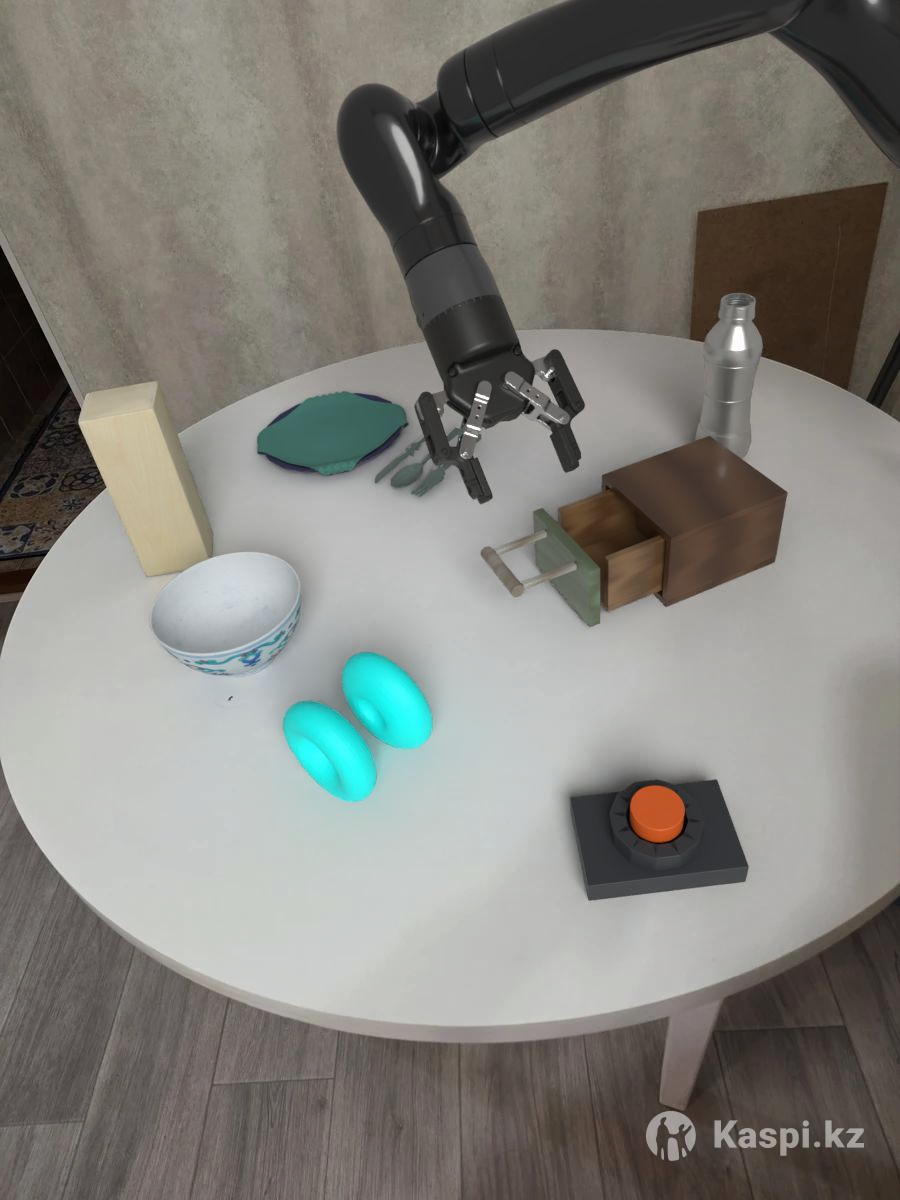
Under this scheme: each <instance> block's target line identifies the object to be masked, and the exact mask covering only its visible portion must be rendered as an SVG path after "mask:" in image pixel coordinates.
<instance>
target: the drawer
mask: <svg viewBox="0 0 900 1200" xmlns="http://www.w3.org/2000/svg"><path fill="white" fill-rule="evenodd" d="M532 516H533V517H532V519H533V520H532V521H533V533H531V534H528V535H526V536H522V537H520V538H518V539H515V540H512V541H510V542H507V543H504V544H500V545H499V546H496V547H492V546H490V545H488V546H487V545H486V546H483V548H482V549H481V550H480V554H479V555H480V557H481V559H483V561H484V562H485V564H486V565H487V566H488V567H489V568H490V570H491V571H492V572H493V574H495V576H496V577H497V579H498V580H499V581H500V582H501V584H502V585H503V587H505V589H506V590H507V591H508V592H509V594H510V595H511V596H512V597H513V598H519V597H521V596H522V595H523V594H524V593H525V590H527V589H530V588H532V587H536V586H537V585H540V584H543V583H545V582H550V583H551V584H552V585H553V586H554V587H555V589H557V591H558V592H559V593H560V595H562V596H563V598H564V599H565V600H566V601H567V602H568V603H569V605H570V606H571V607H572V608H573V609H574V610H575V612H576V613H577V614H578V615H579V616H580V618H582V620H583V621H584V622H585V623H586V624H587V626H588V627H589V628H592V627H594V626H597V625H599V624H601V607H602V608H603V609H604V610H605V611H606V612H607V613H610V612H612V611H614V610H617V609H619V608H621V607H624V606H627V605H630V604H631V603H634V602H637V601H639V600H642V599H644V598H646V597H649V596H651V595H654V593H656V592H659V591H661V590H663V580H664V565H665V550H666V539H665V538H664V537H663V536H661V535H660V534H659V533H658V532H657V531H656V530H655V529H654V528H653V527H652V526H651V525H649V524H648V523H647V522H646V521H645V520H644V519H643V518H642V517H641V516H640V515H639V514H637V513H636V512H635V511H634V510H633V509H632V508H631V507H630V506H629V505H628V504H626V503H625V502H624V501H623V500H622V499H621V498H620V497H619V496H618V495H617V494H616V493H614V492H613V491H612V490H611V489H608V490H606V491H603V492H602V491H599V492H597V493H594V494H592V495H589V496H587V497H584V498H581V499H579V500H576V501H573V502H571V503H568V504H565V505H563V506H560V507H557V521H556V519H554V518H553V517H552V515H551V514H550V513H549V512H548V511H547V510H546V509H545V508H544V507H540V508H538V509H535V510H533V511H532ZM531 543H534V550H535V563H536V564H535V565H536V566H537V567H538V569H539V570H540V571H541V572H542V573H541V574H539V575H536V576H534V577H530V578H528V579H526V580H523V581H520V580H519V579H518V578H517V577H516V575H515V574H514V572H512V570H511V569H510V568H509V566H508V565H507V564H506V563H505V562H504V560H503V559H502V557H500V555H502V554H505V553H508V552H511V551H513V550H516V549H519V548H521V547H523V546H527V545H529V544H531Z"/></svg>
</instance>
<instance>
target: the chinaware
mask: <svg viewBox="0 0 900 1200" xmlns="http://www.w3.org/2000/svg"><path fill="white" fill-rule="evenodd" d="M301 585H302V584H301V581H300V577H299V575H298V572H297V571H296V570H295V568H294V567H293V566H292V565H291V564H290V562H289V563H288V562H287V561H286V560H284V559H283V558H281V557H279V556H276V555H273V554H271V553H267V552H261V551H236V552H229V553H223V554H220V555H216V556H212V558H210V559H207V560H204V561H202V562H199V563H197V564H195V565H193V566H191V567H190V568H188V569H186V570H183V571H180V572H179V573H178V574H177V575H176V576H174V577H173V578H172V579H170V581H168V582H167V584H165V586H164V587H163V588H162V589H161V590H160V591H159V592H158V594H157V596H156V597H155V599H154V601H153V603H152V606H151V608H150V611H149V627H150V630H151V633H152V635H153V636H154V638H155V639H156V641H157V642H158V643H159V645H161V647H162V648H163V649H164V650H165V651H166V652H167V653H168V654H169V655H170V656H171V657H173V658H174V659H175V660H176V661H178V663H179V662H180V663H181V664H183V665H184V666H185V667H188V668H189V669H192V670H195V671H197V672H200V673H204V674H207V675H214V676H227V677H233V678H242V677H248V676H251V675H254V674H257V673H260V671H262V670H264V669H266V668H267V667H268V666H269V665H270V664H271V663H273V661H274V659H275V658H276V657H277V655H279V654H280V653H281V652H282V651H283V649H284V648H285V647H286V646H287V645H288V643H289V641H290V640H291V639H292V636H293V635H294V632H295V631H296V627H297V625H298V623H299V619H300V616H301V615H300V614H301V608H302V587H301Z"/></svg>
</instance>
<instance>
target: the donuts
mask: <svg viewBox="0 0 900 1200" xmlns="http://www.w3.org/2000/svg"><path fill="white" fill-rule="evenodd" d="M341 687H342V692H343V694H344V698H345V700H346V702H347V704H348V706H349V708H350V710H351V711H352V712H353V714H354V716H355V717H356V718H357V719H358V721H359V722H360V723H361V724H362V726H363V727H365V729H367V730H368V731H369V732H370V734H372V735H373V736H374V737H376V738H377V739H378V740H380V741H381V742H383V743H385V744H386V745H389V746H391V747H393V748H396V749H402V750H414V749H416V748H419V747H421V746H423V745H424V744H425V743H426V742H427V741H428V740H429V739H430V736H431V735H432V731H433V728H434V727H433V726H434V719H433V712H432V710H431V707H430V705H429V702H428V700H427V698H426V696H425V695H424V693H423V691H422V690H421V688H420V686H418V684H417V683H416V682H415V680H414V679H413V678H412V677H411V675H410V674H409V673H408V672H406V671H405V670H404V669H403V668H402V667H401V666H400V665H398V664H397V663H396V662H394V661H393V660H392V659H390V658H388V657H386V656H385V655H382V654H380V653H377V652H373V651H362V652H358V653H356V654H354V655H352V656H351V657H350V658H348V659H347V661H346V662H345V664H344V666H343V668H342V673H341ZM282 730H283V734H284V739H285V741H286V743H287V745H288V747H289V749H290V750H291V752H292V753H293V755H294V757H295V759H296V760H297V761H298V763H299V764H300V765H301V767H302V768H303V769H304V770H305V771H306V773H307V774H308V775H309V777H311V778H312V779H313V780H314V781H315V782H316V783H317V784H318V785H319V786H320V787H321V788H323V789H324V790H325V791H326V792H327V793H329V794H330V795H332V796H333V797H335V798H338V799H339V800H341V801H345V802H349V803H351V802H352V803H357V802H360V801H364V800H365V799H367V798H368V797H369V796H370V795H371V794H372V792H373V791H374V790H375V787H376V784H377V778H378V777H377V766H376V762H375V759H374V756H373V753H372V751H371V749H370V747H369V746H368V743H367V742H366V740H365V739H364V737H363V736H362V735H361V734H360V733H359V731H358V730H357V729H356V728H355V726H354V725H353V724H352V723H351V722H350V721H349V720H348V719H347V718H346V717H345V716H343V714H341V713H340V712H338V711H337V710H335V709H333V707H330V706H328V705H326V704H324V703H322V702H319V701H314V700H302V701H297V702H296V703H294V704H292V705H291V706H290V707H288V708H287V710H286V712H285V714H284V716H283V719H282Z"/></svg>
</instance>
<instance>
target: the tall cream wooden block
mask: <svg viewBox="0 0 900 1200" xmlns="http://www.w3.org/2000/svg"><path fill="white" fill-rule="evenodd" d="M161 387H162V386H161V384H160V383H159V381H158V380H153V381H148V382H147V381H146V382H142V383H141V382H140V383H136V384H130V385H124V386H120V387H114V388H108V389H103V390H96V391H91V392H87V393H86V395H85V397H84V401H83V403H82V406H81V410H80V413H79V416H78V422H77V423H78V426H79V429H80V431H81V433H82V435H83V437H84V440H85V442H86V444H87V446H88V449H89V452H90V453H91V456H92V458H93V460H94V462H95V465H96V467H97V469H98V471H99V473H100V477H101V479H102V480H103V482H104V485H105V487H106V489H107V491H108V494H109V496H110V498H111V500H112V503H113V505H114V507H115V509H116V512H117V515H118V516H119V519H120V521H121V523H122V526H123V527H124V530H125V532H126V535H127V537H128V539H129V541H130V544H131V546H132V549H133V550H134V553H135V555H136V557H137V559H138V562H139V564H140V566H141V568H142V570H143V573H144V575H145V576H146V577H147V578H148V577H149V578H150V577H155V576H156V577H157V576H162V575H166V574H173V573H178V572H183V571H184V570H186V569H188V568H190V567H191V566H193V565H195V564H197V563H199V562H202V561H204V560H207V559H210V558H212V557H213V546H214V532H213V529H212V525H211V523H210V520H209V518H208V514H207V512H206V508H205V506H204V503H203V501H202V498H201V495H200V493H199V490H198V487H197V484H196V482H195V478H194V476H193V472H192V470H191V468H190V465H189V462H188V459H187V456H186V453H185V451H184V448H183V446H182V442H181V440H180V437H179V434H178V431H177V428H176V426H175V423H174V421H173V418H172V415H171V411H170V409H169V406H168V404H167V401H166V398H165V396H164V393H163V392H164V391H163V390H162V388H161Z"/></svg>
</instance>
